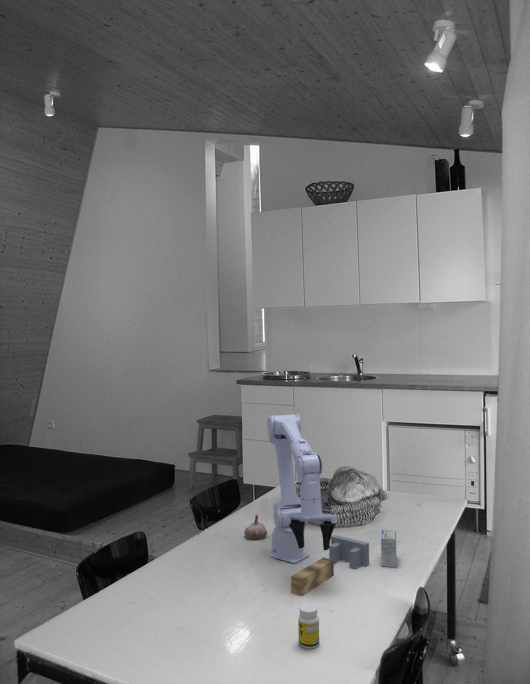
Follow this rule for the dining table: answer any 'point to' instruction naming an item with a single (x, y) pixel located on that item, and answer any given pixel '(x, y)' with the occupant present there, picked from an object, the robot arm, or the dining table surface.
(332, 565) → the rail
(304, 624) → the supplement bottle
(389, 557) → the medicine box
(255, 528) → the garlic bulb
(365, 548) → the grey stepped block
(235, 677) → the dining table surface
